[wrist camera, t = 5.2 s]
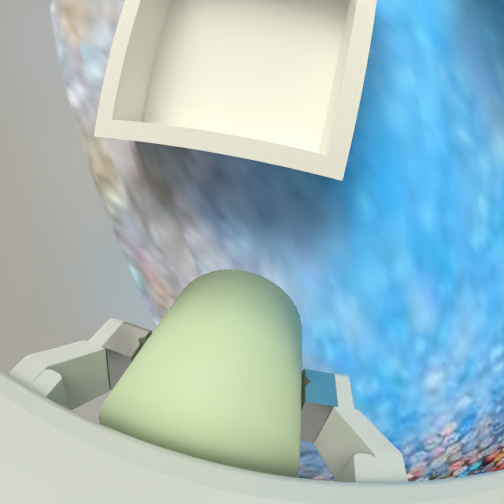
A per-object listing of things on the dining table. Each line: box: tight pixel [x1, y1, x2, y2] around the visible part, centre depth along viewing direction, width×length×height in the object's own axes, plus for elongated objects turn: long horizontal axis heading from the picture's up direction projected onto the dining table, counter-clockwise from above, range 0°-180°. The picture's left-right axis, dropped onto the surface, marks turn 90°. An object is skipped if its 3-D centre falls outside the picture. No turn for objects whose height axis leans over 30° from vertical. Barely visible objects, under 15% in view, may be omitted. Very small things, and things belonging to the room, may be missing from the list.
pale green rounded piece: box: [99, 270, 302, 477], centre depth 9 cm, size 5×5×6 cm
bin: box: [94, 0, 377, 181], centre depth 15 cm, size 13×14×5 cm
